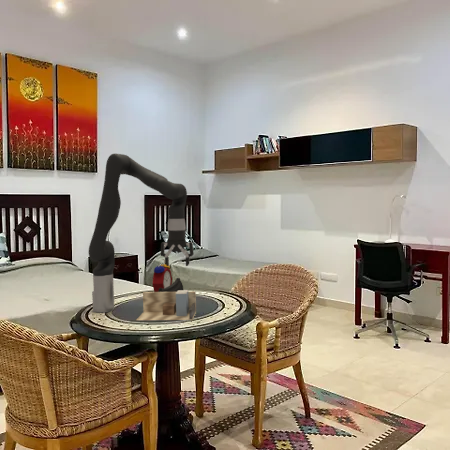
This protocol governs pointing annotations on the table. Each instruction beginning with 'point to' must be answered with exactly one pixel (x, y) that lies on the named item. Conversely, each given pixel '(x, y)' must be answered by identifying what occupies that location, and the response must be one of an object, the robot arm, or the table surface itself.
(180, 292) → the blue grey block
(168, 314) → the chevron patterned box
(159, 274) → the alarm clock
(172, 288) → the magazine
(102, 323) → the table surface
